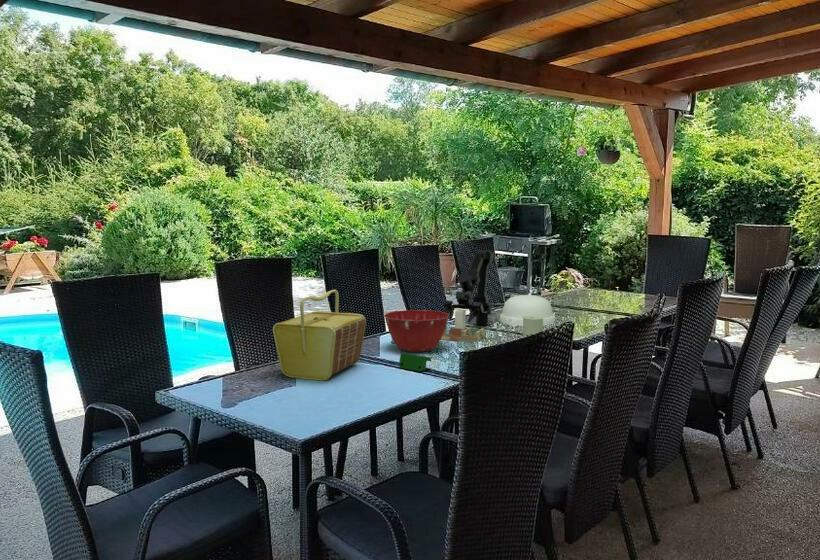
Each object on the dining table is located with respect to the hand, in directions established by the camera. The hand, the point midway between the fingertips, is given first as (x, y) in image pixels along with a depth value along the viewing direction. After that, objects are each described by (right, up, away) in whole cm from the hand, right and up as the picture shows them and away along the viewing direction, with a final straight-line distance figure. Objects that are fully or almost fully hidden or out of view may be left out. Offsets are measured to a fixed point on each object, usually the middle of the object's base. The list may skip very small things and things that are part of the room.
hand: (459, 321), depth 295 cm
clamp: (-21, -15, -52) cm, 58 cm away
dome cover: (+41, -3, +46) cm, 61 cm away
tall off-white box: (+1, -8, +2) cm, 8 cm away
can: (+33, -9, -7) cm, 35 cm away
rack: (+1, -8, +2) cm, 8 cm away
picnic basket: (-57, -16, -54) cm, 80 cm away
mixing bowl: (-20, -11, -19) cm, 30 cm away
